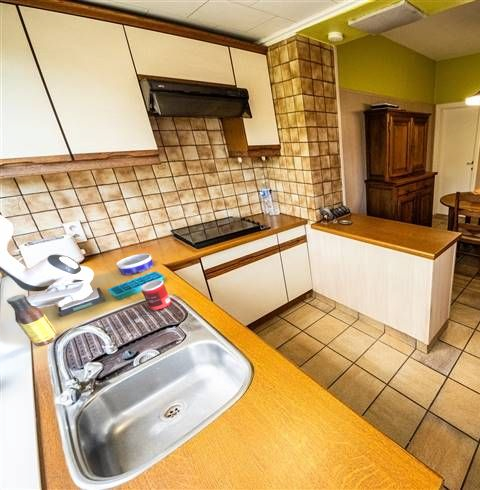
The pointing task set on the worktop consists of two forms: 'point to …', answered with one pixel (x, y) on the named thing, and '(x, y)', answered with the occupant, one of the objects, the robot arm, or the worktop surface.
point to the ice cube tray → (134, 285)
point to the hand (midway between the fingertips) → (41, 308)
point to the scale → (82, 302)
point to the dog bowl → (135, 264)
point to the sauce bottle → (32, 321)
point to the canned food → (156, 295)
